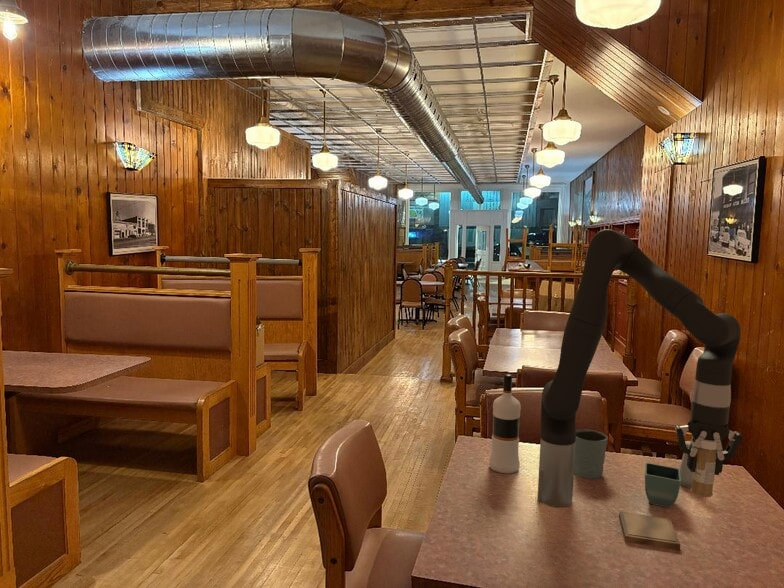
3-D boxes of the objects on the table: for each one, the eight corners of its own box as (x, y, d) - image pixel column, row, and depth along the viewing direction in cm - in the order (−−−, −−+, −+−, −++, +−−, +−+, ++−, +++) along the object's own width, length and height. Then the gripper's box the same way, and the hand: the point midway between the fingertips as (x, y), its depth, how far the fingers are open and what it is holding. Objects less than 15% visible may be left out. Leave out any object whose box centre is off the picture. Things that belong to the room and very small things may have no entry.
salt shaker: (703, 489, 160) (706, 446, 159) (683, 489, 161) (686, 446, 159) (692, 480, 166) (696, 438, 165) (673, 480, 166) (676, 438, 165)
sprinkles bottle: (686, 489, 131) (691, 434, 129) (704, 488, 132) (710, 434, 130) (698, 498, 127) (704, 442, 125) (717, 498, 127) (723, 441, 125)
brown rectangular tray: (624, 541, 133) (625, 535, 133) (618, 516, 144) (619, 510, 144) (679, 550, 130) (680, 543, 130) (669, 524, 141) (669, 518, 141)
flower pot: (677, 498, 155) (679, 468, 154) (678, 513, 147) (681, 481, 146) (642, 492, 158) (645, 462, 157) (642, 505, 151) (644, 474, 149)
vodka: (484, 463, 176) (488, 371, 173) (511, 460, 178) (515, 370, 175) (496, 476, 167) (500, 379, 164) (524, 473, 169) (529, 377, 166)
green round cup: (570, 476, 168) (572, 438, 166) (570, 463, 177) (572, 427, 176) (606, 481, 165) (609, 442, 163) (604, 467, 174) (606, 431, 173)
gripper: (740, 399, 128) (733, 470, 130) (673, 392, 132) (666, 461, 134) (752, 409, 121) (743, 484, 123) (680, 402, 125) (673, 474, 127)
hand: (703, 471), depth 128 cm, fingers closed on sprinkles bottle, 4 cm apart
